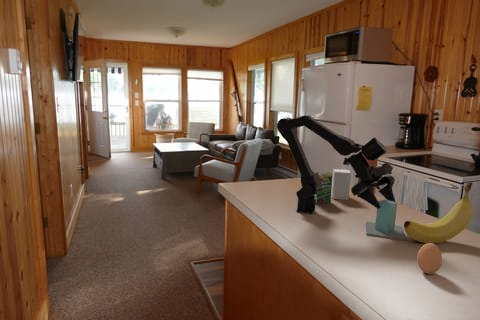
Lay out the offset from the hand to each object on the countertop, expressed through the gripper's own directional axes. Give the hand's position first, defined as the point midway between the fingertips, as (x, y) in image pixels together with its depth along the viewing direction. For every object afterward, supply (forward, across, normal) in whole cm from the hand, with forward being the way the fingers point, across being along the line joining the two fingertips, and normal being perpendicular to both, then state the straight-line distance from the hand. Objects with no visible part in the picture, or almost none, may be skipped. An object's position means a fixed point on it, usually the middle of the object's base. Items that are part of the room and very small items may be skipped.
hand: (387, 205), depth 117 cm
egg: (+23, -17, -10) cm, 30 cm away
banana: (+16, +6, -3) cm, 18 cm away
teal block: (+6, 0, +6) cm, 9 cm away
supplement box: (-18, +21, +32) cm, 42 cm away
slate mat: (+6, 0, +6) cm, 9 cm away
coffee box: (-17, +7, +31) cm, 36 cm away
